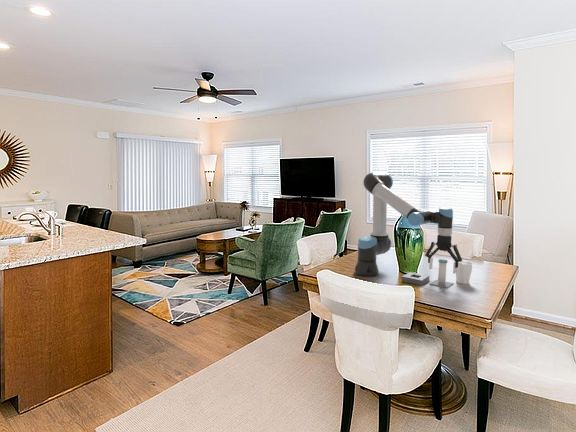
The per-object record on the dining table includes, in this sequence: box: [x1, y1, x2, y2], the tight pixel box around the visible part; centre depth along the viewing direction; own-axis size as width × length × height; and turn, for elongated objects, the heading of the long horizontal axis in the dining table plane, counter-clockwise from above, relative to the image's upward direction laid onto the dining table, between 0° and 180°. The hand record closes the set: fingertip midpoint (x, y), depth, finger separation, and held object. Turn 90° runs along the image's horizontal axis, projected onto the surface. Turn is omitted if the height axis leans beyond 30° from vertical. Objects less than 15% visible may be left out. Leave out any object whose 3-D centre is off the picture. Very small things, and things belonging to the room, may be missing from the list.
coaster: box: [429, 279, 454, 289], centre depth 212 cm, size 10×10×1 cm
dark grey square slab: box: [401, 271, 430, 286], centre depth 218 cm, size 12×12×3 cm
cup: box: [455, 260, 473, 285], centre depth 215 cm, size 9×9×12 cm
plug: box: [437, 258, 448, 284], centre depth 211 cm, size 5×5×14 cm
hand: (442, 270), depth 211 cm, fingers open, 13 cm apart
